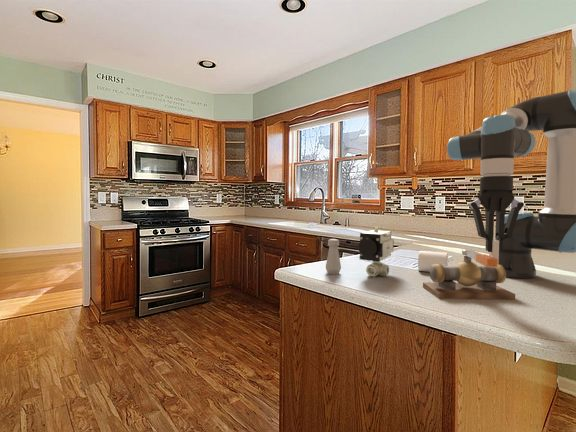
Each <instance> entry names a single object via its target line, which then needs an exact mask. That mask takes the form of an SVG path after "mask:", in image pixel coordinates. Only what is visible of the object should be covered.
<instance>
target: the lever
mask: <svg viewBox="0 0 576 432" xmlns="http://www.w3.org/2000/svg"><path fill="white" fill-rule="evenodd" d="M461 255H463V256H468V257H470V258H471V260H472V259H473V260H475V262H476V263H479V264H481V266H487V267H497V265H498V259H496V258H493V257H491V256H489V254H485V253H480V252H479V251H475V250H473V249H461Z"/></svg>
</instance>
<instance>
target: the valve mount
mask: <svg viewBox="0 0 576 432" xmlns="http://www.w3.org/2000/svg"><path fill="white" fill-rule="evenodd" d="M429 276H430V280H431V281H432V282H422V288H423V289H425V290H426V291H428V293H430V294H432V295H433V296H434V297H436V298H437V299H455V300H457V299H461V300H462V299H465V300H472V299H473V300H516V293H513V292H511V291H509V290H507V289H505V288H503V287H500V286H498V285H497V284H504V283H505V281H506V279H507V277H506V271H505V269H504V267H503V266H502V265H497V267H487V266H484V265H478V264H476V263H475V262H473V261H472V258H470V257H468V256H466V255H463V261H460V262H458V263H457V264H456V265H448V266H442V265H441V264H432V266H431V267H430V272H429Z"/></svg>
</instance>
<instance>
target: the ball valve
mask: <svg viewBox="0 0 576 432" xmlns="http://www.w3.org/2000/svg"><path fill="white" fill-rule="evenodd" d="M357 249H358V253H359V260H363V261H368V262H370V261H371V262H372V263H370V264H368V265H367V266H366V268H365V269H366V270H365V272H366V274H367V275H368V276H369V277H372V278H373V277H376V276H377V277H378V276H380V277H384V276H389V273H390V267H389V266H390V265H387V264H385V262H384V263H383V262H381V261H384V260H385V259H387V258H389V257H391V255H392V253H393V252H394V239H393V238H392V231H391V230H379V227H374V229H372V230H367V231H364V232H360V233H359V243H358V246H357Z"/></svg>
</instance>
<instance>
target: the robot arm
mask: <svg viewBox="0 0 576 432" xmlns="http://www.w3.org/2000/svg"><path fill="white" fill-rule="evenodd" d="M481 123H482V124H481V126H480V127H478V128H476V129H475V130H472V131H471V132H469V133H467V134H464V135H458V136H453V137H451V138H450V139H449V140H448V141H447V142H448V143H447V146H446V152H447V155H448V157H449V159H450V160H453V161H467V160H476V159H480V170H479V171H480V173H479V174H480V175H481V176H482V177H480V178H479V194H478V195H477V198H476V199H475V200H473V201H470V202H468V206H469V208H470V209H471V211H472V215H473V219H474V223H475V227H476V231H477V235H478V237H480V238H483V239H484V240H485V251H486V252H487V253H488V256H491V257H493V258H496V259H498V265H502V266H503V267H504V269H505V271H506V278H513V279H533V278H536V277H537V269H536V266H535V263H534V259H533V257H532V250H539V251H541V250H542V251H548V252H549V251H550V252H558V253H560V254H561V253H569V254H575V253H576V89H572V90H571V89H570V90H565V91H560V92H557V93H552V94H547V95H546V94H545V95H542V96H536V97H532V98H528V99H526V100H524V101H521V102H519V103H517V104H515V105H513V106H511V107H509V108H506V109H505V110H504V111H503V112H501V113H500V114H497V115H492V116H488V117H486V118H484V119H483V120H482V122H481ZM535 131H536V132H537V131H542V135H543V136H545V138H547V148H546V149H547V151H546V152H547V153H546V154H547V155H546V169H545V170H546V171H545V186H544V188H545V189H544V205H543V208H542V209H541V210H539V211H538V213H537V215H538V216H535V215H534V213H533V212H521V213H520V211H521V209H523V207H524V205H525V203H524V202H523V201H518V200H517V199H516V198H515V195H514V194H513V193H514V192H513V191H514V190H513V189H514V177H513V174H514V169H515V167H514V166H515V165H514V163H515V159H514V158H517V157H518V158H520V157H524V156H527V155H529V154H530V153H531V152H532V151H534V148H535V146H536V144H537V143H536V137H535V136H534V134H533V133H531V132H535ZM511 175H512V176H511ZM481 206H482V207H483V209H484V213H485V225H484V221H483V217H482V212H481V209H480V207H481ZM509 206H510V211H509V212H508V214H506V212H507V211H506V210H507V209H508V208H509ZM494 225H495V226H494ZM494 227H495V233H494ZM494 234H495V237H494Z"/></svg>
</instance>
